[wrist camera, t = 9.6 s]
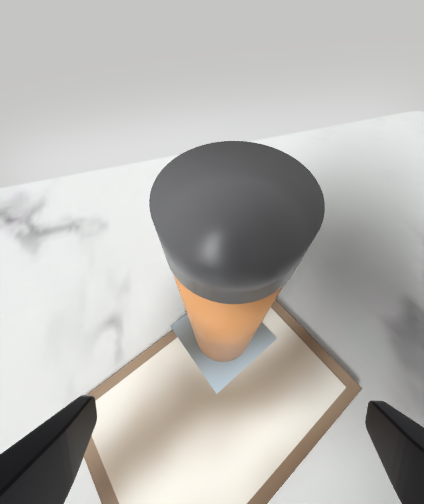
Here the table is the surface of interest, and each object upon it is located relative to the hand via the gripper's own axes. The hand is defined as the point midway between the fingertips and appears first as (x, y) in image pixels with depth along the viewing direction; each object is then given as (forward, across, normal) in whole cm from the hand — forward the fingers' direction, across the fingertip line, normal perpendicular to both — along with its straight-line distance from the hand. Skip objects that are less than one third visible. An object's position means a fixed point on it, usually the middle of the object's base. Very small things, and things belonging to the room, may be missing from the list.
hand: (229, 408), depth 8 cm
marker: (+9, 0, +3) cm, 10 cm away
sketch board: (+7, 0, +6) cm, 10 cm away
